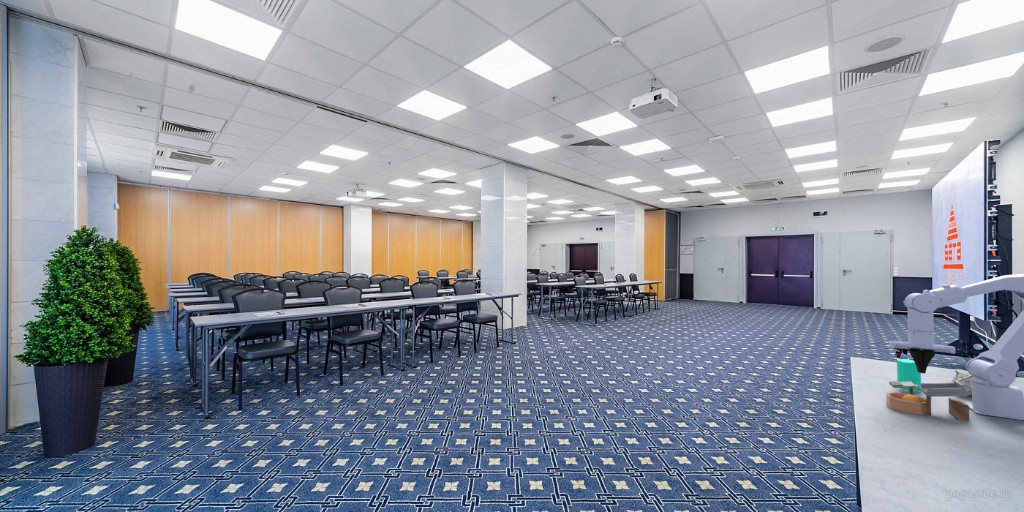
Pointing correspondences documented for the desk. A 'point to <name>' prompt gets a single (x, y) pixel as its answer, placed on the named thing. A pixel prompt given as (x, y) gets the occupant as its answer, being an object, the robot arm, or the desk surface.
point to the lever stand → (955, 407)
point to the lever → (934, 388)
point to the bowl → (906, 404)
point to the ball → (911, 398)
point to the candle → (908, 373)
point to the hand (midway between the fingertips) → (921, 372)
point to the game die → (964, 381)
